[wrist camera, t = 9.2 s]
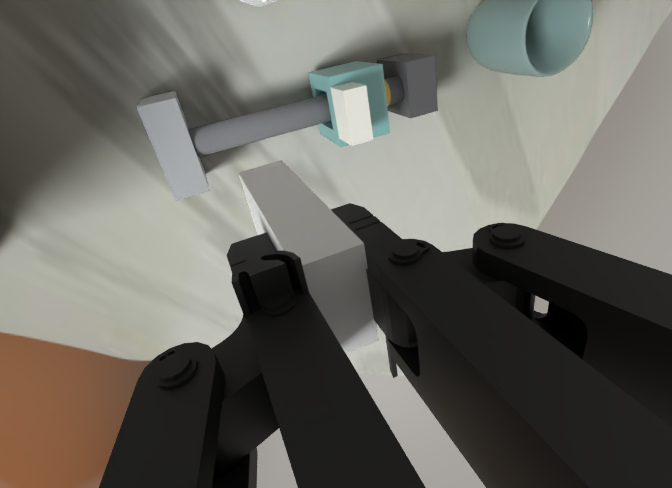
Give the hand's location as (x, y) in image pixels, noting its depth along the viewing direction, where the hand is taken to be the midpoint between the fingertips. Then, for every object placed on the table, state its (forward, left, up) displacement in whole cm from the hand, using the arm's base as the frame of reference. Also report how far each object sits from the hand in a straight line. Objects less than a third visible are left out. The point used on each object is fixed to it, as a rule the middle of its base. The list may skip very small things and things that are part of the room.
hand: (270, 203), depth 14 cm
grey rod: (+7, -2, -25) cm, 26 cm away
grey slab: (-4, -2, -28) cm, 28 cm away
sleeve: (+12, -2, -28) cm, 31 cm away
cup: (+31, 0, -28) cm, 42 cm away
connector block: (+19, -2, -28) cm, 34 cm away
